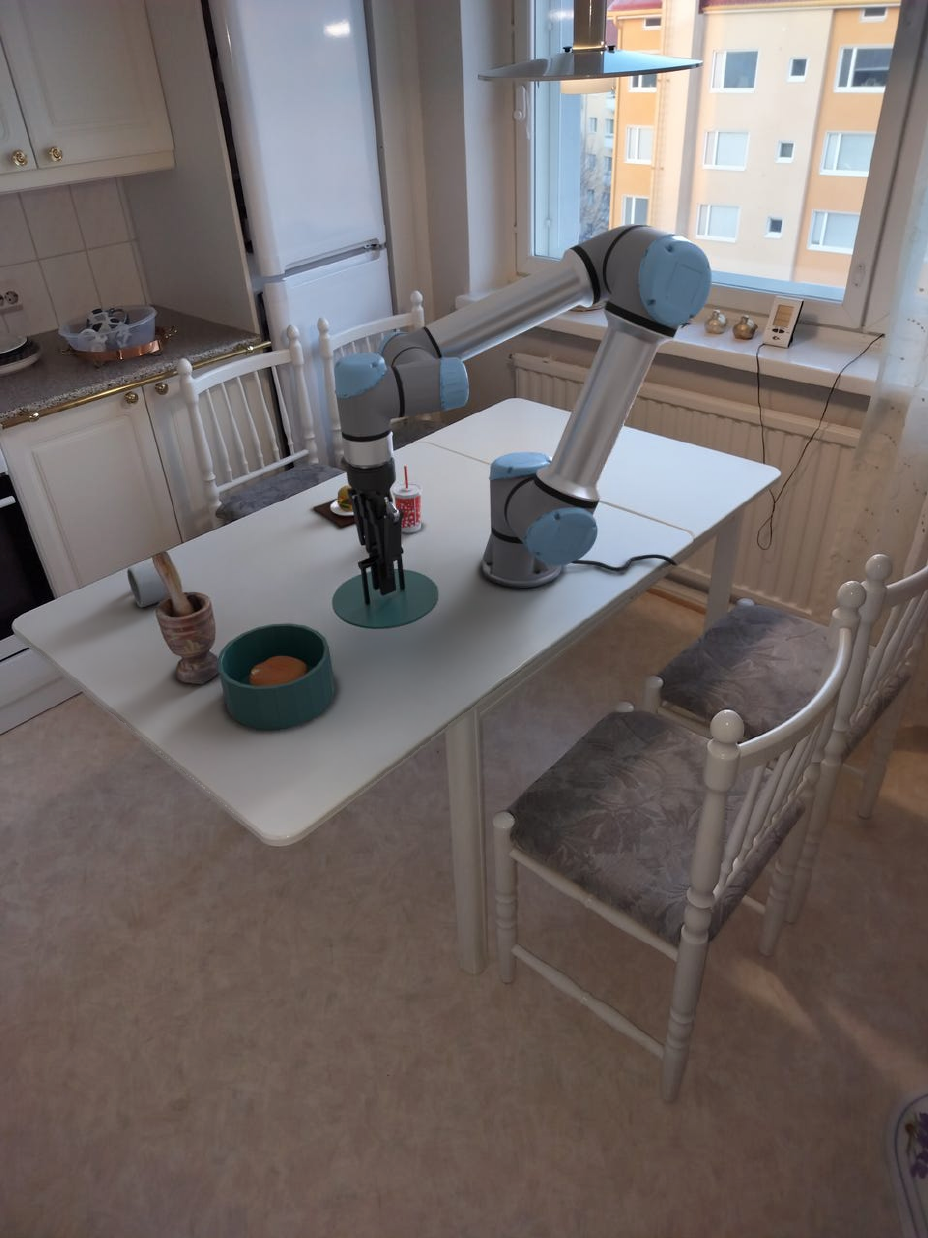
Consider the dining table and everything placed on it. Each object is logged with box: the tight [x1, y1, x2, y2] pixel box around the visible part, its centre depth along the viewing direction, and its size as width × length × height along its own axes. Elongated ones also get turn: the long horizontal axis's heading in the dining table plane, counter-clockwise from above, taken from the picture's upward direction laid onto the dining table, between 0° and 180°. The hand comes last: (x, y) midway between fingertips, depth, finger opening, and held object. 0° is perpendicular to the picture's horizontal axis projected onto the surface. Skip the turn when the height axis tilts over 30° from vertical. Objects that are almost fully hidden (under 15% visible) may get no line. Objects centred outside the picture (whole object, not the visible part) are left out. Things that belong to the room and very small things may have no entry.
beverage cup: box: [391, 465, 423, 534], centre depth 180 cm, size 6×6×14 cm
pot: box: [217, 622, 335, 731], centre depth 137 cm, size 17×17×8 cm
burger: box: [249, 656, 308, 686], centre depth 137 cm, size 10×9×5 cm
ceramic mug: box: [126, 561, 183, 608], centre depth 163 cm, size 11×8×8 cm
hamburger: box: [313, 484, 356, 529], centre depth 191 cm, size 12×12×6 cm
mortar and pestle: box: [151, 550, 219, 685], centre depth 140 cm, size 12×9×20 cm
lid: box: [331, 547, 440, 630], centre depth 144 cm, size 18×18×9 cm
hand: (384, 589), depth 145 cm, fingers closed on lid, 1 cm apart
